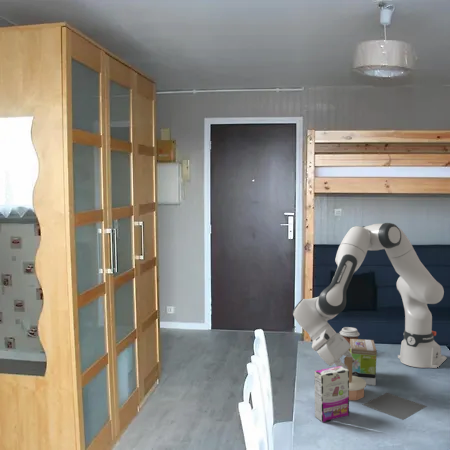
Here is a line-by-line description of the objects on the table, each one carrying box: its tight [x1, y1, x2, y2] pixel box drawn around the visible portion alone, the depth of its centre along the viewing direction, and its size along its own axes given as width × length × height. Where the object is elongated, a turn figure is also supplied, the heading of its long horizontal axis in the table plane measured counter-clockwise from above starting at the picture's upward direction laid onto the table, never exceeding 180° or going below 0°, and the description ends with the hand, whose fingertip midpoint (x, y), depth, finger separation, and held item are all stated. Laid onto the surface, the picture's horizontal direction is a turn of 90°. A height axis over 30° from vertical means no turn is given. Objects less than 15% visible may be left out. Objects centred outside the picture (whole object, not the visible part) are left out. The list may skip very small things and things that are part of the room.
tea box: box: [350, 338, 378, 386], centre depth 209 cm, size 15×10×15 cm
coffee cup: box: [339, 326, 361, 357], centre depth 240 cm, size 9×9×12 cm
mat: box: [362, 392, 428, 421], centre depth 183 cm, size 16×16×1 cm
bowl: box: [349, 388, 365, 401], centre depth 193 cm, size 11×11×4 cm
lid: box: [343, 356, 367, 391], centre depth 192 cm, size 13×13×10 cm
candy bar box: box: [314, 366, 350, 423], centre depth 175 cm, size 11×5×16 cm, turn 114°
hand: (349, 366), depth 192 cm, fingers open, 8 cm apart
